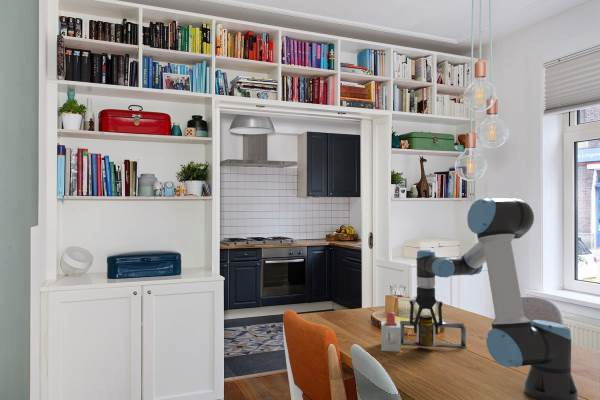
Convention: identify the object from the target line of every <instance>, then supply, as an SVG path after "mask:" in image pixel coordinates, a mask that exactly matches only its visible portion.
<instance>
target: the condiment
mask: <svg viewBox="0 0 600 400" xmlns="http://www.w3.org/2000/svg"><path fill="white" fill-rule="evenodd" d="M418 322H419V323H418V324H419V342H417V341H415V342H416V343H411V344H412V345H411V346H415V347H418V348H423V349H426V348H432V347H437V346H436V344H433V323H432V322H433V318H432V315H428V314H423V315H422V314H421V315H420V318H419V321H418Z"/></svg>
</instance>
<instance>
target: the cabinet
mask: <svg viewBox="0 0 600 400" xmlns="http://www.w3.org/2000/svg"><path fill="white" fill-rule="evenodd" d="M380 327H381V331H380V332H381V333H380V334H381V335H380V336H381V340H380V341H381V343H380V344H381V345H380V351H381V352H399V353H401V351H402V350H401V349H402V347H401V326H400V321H395V326H386V320H381V324H380Z"/></svg>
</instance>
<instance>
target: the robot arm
mask: <svg viewBox="0 0 600 400" xmlns="http://www.w3.org/2000/svg"><path fill="white" fill-rule="evenodd" d="M466 218H467V219H466V221H467V226H468V228H469V230H470V232H472V233H474V234H476V235H477V237H476V238H477V241H478V242H476V243H475V244H474V245H473V246H472V247H471V248H470V249H468V250H467V252H465V253H464V254H463V255H462V256H445V257H441V256H436V252H435V250H431V249H419V250H417V252H416V297H415V299H410V300H409V305H410V309H409V321H410V324H412V325H414V326H413V333H414V334H416V342H419V325H417V324H418V322H419V319H420V316H421V315H422V312H423V310H425V309H426V310H430V316H431V317H432V322H434V324H435V326H433V343H436V335H439V327H438V326H442V325H443V323H444V322H443V314H442V312H443V311H442V310H443V309H442V307H443V302H442V300H437V299H436V288H435V286H436V277H439V278H450V277H452V276H454V277H455V276H475V275H478V274H481V272H482V269H483V268H484V264H485V263H486V268H487V272H488V279H489V280H488V281H489V284H490V285H489V286H490V292H491V293H490V294H491V298H492V304H493V310H494V316H495V317H494V319H493V320H492V322H491V330H489V331H488V332H487V334H486V335H487V336H486V339H485V340H486V341H485V342H486V348H487V350H488V353H489V355H490V357H491V358H492V359H493V360H494V361H495V363H496V364H497V365H499V366H502V367H504V368H505V367H506V368H519V367H524V366H530V368H529V371H528V373H527V376H526V379H525V382H524V392H525V394H527V395H528V396H530V397H532V398H534V399H537V400H578V389H577V386H576V383H575V381H574V378H573V375H572V334H571V329H570V328H569V327H568V326H566V325H565V324H561V323H558V322H554V321H548V320H544V319H543V320H541V319H532V320H530V319H529V318H528V317H526V316H525V312H524V306H523V302H522V301H523V300H522V296H521V290H520V289H521V288H520V283H519V278H518V273H517V268H516V263H515V257H514V255H515V254H514V251H513V250H514V249H513V245H512V241H514V239H516V240H517V239H518V240H519V239H521V238H522V237H523V236H524V235H526V234H527V233H528V232H529V231H530V230H531V228H532V226H533V225H534V221H535V215H534V211H533V209H532V207H531V206H530V205H529V203H528V202H525V201H524V200H522V199H520V198H496V197H495V198H492V197H487V198H479V199H477V200H475V201H474V202H472V204H471V206H470V207H469V209H468V213H467V217H466ZM416 303H417V305H418V309H417V312H416V315H415V318H414V308H415V305H416ZM435 304H436V306H437V313H438V321H437V317H436V314H435V312H434V308H433V307H434V306H435ZM437 322H438V323H437Z"/></svg>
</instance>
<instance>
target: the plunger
mask: <svg viewBox="0 0 600 400" xmlns="http://www.w3.org/2000/svg"><path fill="white" fill-rule="evenodd" d="M385 321H386V326H395V322H396V311H395V312H394V311H387V312H386V320H385Z"/></svg>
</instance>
